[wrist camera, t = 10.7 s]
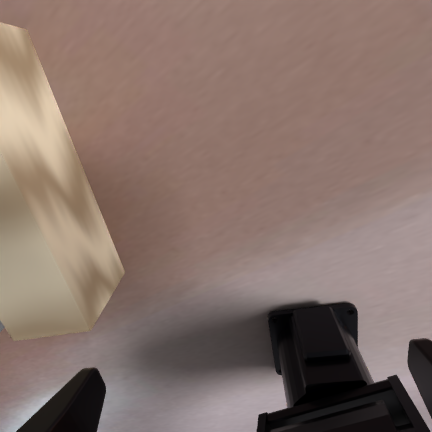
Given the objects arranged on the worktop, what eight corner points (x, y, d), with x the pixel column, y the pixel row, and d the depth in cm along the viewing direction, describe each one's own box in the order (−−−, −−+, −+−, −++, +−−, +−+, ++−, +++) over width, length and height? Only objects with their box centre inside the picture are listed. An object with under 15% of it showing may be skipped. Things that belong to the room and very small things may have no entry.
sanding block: (126, 270, 22) (90, 330, 17) (66, 280, 23) (13, 341, 18) (29, 30, 16) (-75, 1, 11) (-48, 53, 17) (-183, 37, 11)
